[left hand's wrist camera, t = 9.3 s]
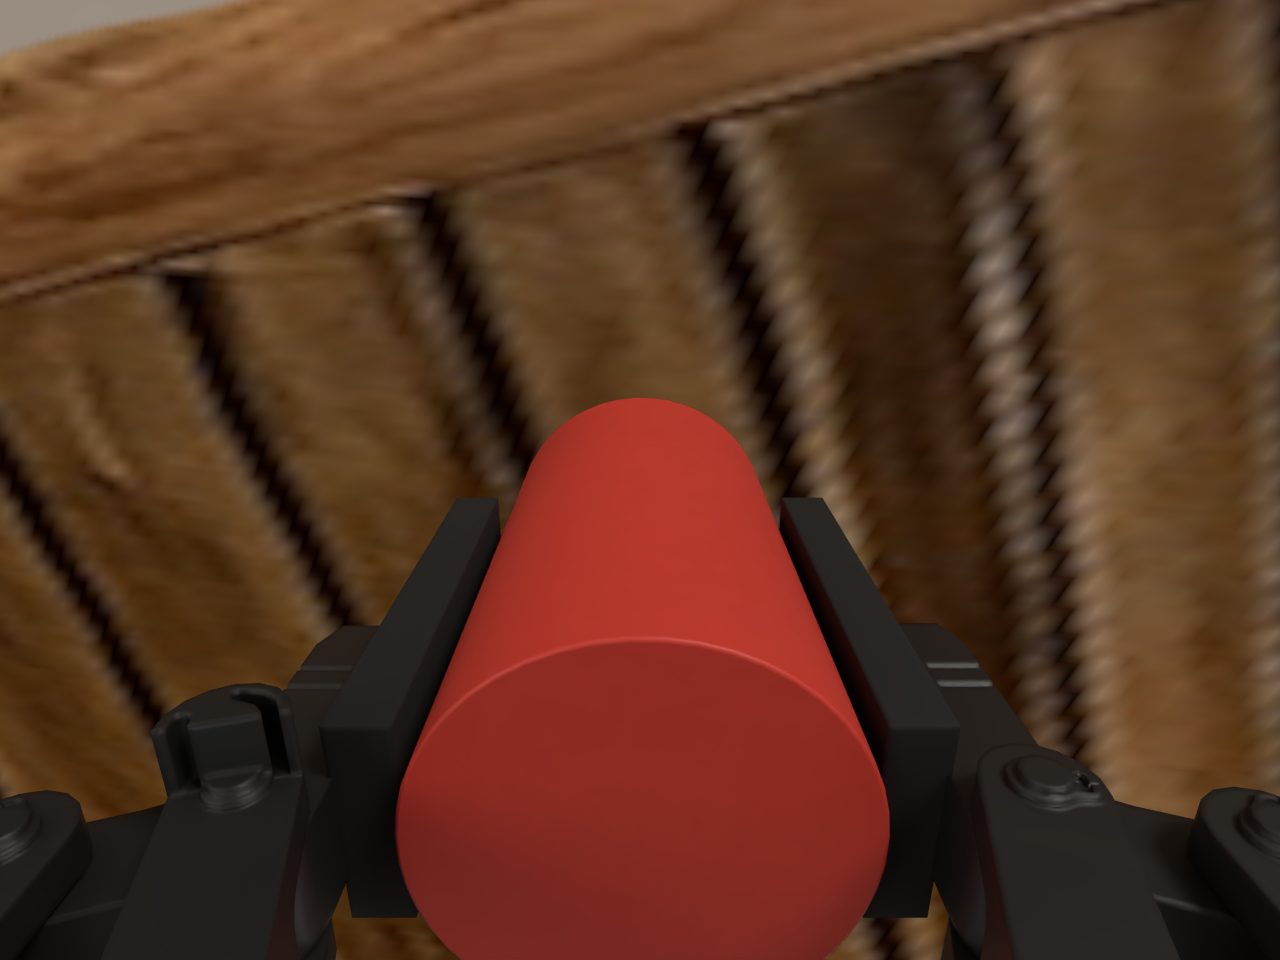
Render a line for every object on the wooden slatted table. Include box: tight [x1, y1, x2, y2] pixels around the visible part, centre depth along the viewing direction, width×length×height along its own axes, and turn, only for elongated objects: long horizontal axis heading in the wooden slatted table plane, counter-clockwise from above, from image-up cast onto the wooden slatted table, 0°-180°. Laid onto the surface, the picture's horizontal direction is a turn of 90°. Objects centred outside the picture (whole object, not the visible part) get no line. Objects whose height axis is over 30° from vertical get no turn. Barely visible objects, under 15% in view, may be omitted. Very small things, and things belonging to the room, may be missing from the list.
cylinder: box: [395, 398, 890, 960], centre depth 12 cm, size 5×5×9 cm
